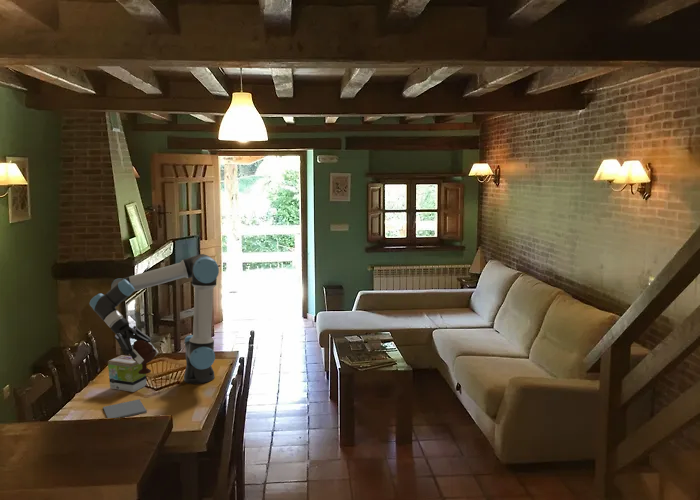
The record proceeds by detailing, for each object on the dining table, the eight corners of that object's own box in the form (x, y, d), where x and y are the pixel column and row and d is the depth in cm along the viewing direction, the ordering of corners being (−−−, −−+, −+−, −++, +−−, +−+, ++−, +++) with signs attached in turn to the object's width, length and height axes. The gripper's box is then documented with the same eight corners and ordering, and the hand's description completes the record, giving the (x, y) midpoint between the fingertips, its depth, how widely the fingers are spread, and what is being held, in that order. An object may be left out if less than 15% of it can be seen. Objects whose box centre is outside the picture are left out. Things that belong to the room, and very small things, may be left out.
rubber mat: (139, 400, 288) (139, 399, 288) (146, 412, 275) (146, 410, 274) (103, 408, 281) (102, 406, 281) (108, 420, 267) (108, 419, 267)
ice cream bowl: (150, 376, 274) (147, 343, 272) (127, 375, 276) (124, 342, 274) (161, 368, 284) (159, 337, 282) (139, 367, 286) (137, 336, 284)
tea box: (109, 389, 305) (106, 360, 303) (123, 382, 314) (121, 354, 312) (133, 392, 299) (131, 363, 297) (147, 385, 309) (145, 356, 307)
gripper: (128, 321, 292) (159, 355, 290) (95, 334, 270) (128, 371, 268) (137, 311, 290) (168, 345, 288) (105, 323, 268) (138, 360, 266)
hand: (149, 358), depth 278 cm, fingers closed on ice cream bowl, 11 cm apart
